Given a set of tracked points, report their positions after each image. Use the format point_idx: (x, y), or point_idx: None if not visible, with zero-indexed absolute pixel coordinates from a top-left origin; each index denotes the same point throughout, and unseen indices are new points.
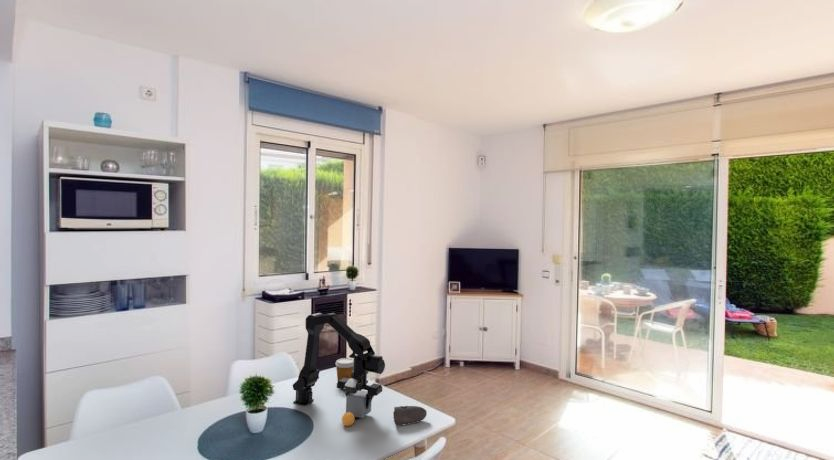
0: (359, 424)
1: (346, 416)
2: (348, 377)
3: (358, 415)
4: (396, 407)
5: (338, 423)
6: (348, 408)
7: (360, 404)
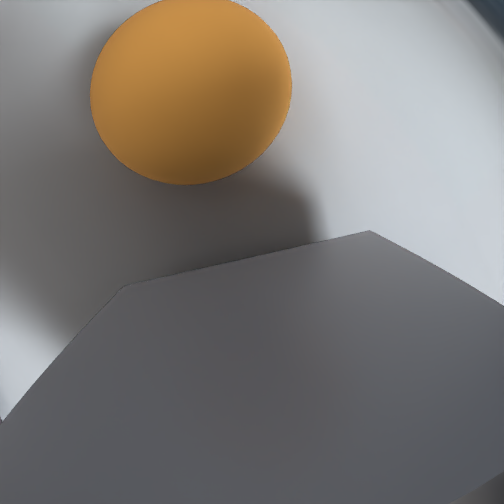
0: (120, 212)
1: (153, 4)
2: None
3: (167, 283)
4: None
5: (324, 77)
6: (366, 265)
7: (67, 389)
